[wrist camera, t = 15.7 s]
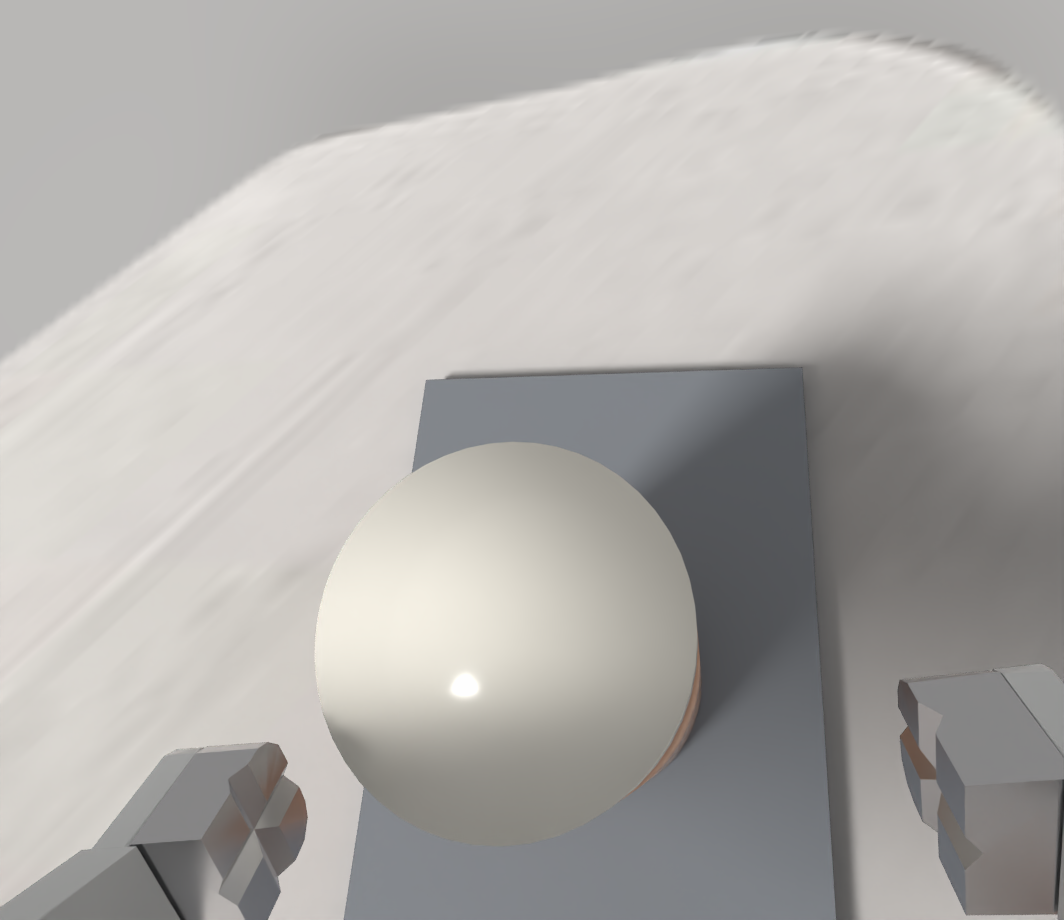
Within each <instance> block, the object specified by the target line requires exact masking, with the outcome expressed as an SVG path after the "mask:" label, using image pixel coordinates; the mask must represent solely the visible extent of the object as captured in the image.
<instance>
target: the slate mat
mask: <svg viewBox="0 0 1064 920" xmlns="http://www.w3.org/2000/svg"><path fill="white" fill-rule="evenodd" d="M502 442H529V443H539V444H544V445H550V446H556V447H560V448H563V449H566V450H569V451H572V452H575V453H579V454H581V455H583V456H585V457H587V458H590V459H592V460H594V461H596V462H598V463H600V464H602V465H603V466H605V467H606V468H608V469H610V470H611V471H613V472H614V473H616V474H617V475H619V476H620V477H622V478H623V479H624V480H625V481H626V482H628V483H629V484H630V485H631V486H632V487H633V488H635V489H636V490H637V491H638V492H639V493H640V494H641V495H642V496H643V497H644V498H645V500H646V501H647V502H648V503H649V504H650V505H651V506H652V507H653V508H654V509H655V511H656V512H657V514H658V515H659V517H660V518H661V520H662V521H663V522H664V524H665V525H666V527H667V528H668V530H669V531H670V533H671V535H672V537H673V539H674V541H675V543H676V545H677V547H678V549H679V551H680V553H681V556H682V558H683V561H684V564H685V567H686V570H687V573H688V576H689V579H690V583H691V588H692V593H693V598H694V603H695V610H696V621H697V632H698V643H699V654H700V665H701V678H702V686H701V699H700V704H699V710H698V714H697V717H696V720H695V723H694V726H693V729H692V731H691V733H690V735H689V737H688V739H687V741H686V743H685V744H684V746H683V747H682V749H681V750H680V752H679V753H678V755H677V756H676V757H675V758H674V759H673V760H672V761H671V762H670V764H669V765H668V766H667V767H666V768H665V769H663V770H662V771H661V772H660V773H659V774H657V775H656V776H655V777H654V778H652V779H651V780H649V781H648V782H647V783H645V784H644V785H642V786H641V787H639V788H638V789H637V790H635V791H634V792H632V793H631V794H630V795H628V796H627V797H625V798H624V799H622V800H621V801H620V802H618V803H617V804H615V805H614V806H613V807H611V808H610V809H608V810H607V811H605V812H604V813H602V814H600V815H599V816H597V817H595V818H594V819H592V820H591V821H589V822H587V823H586V824H584V825H582V826H580V827H577V828H575V829H573V830H570V831H568V832H566V833H563V834H561V835H559V836H556V837H552V838H549V839H545V840H541V841H537V842H533V843H529V844H520V845H510V846H483V845H471V844H466V843H462V842H457V841H452V840H447V839H444V838H442V837H439V836H436V835H434V834H431V833H428V832H426V831H423V830H421V829H419V828H417V827H416V826H414V825H412V824H410V823H408V822H407V821H405V820H403V819H401V818H399V817H398V816H397V815H395V814H394V813H393V812H392V811H390V810H389V809H388V808H386V807H385V806H384V805H382V804H381V803H380V802H379V801H377V799H376V798H375V797H374V796H373V795H372V794H371V793H370V792H369V791H368V790H367V789H366V788H365V787H364V790H363V797H362V803H361V810H360V816H359V823H358V829H357V836H356V843H355V849H354V856H353V862H352V869H351V875H350V882H349V888H348V895H347V902H346V908H345V915H344V920H836V911H835V894H834V878H833V862H832V845H831V829H830V813H829V797H828V780H827V764H826V748H825V731H824V715H823V699H822V682H821V666H820V650H819V633H818V617H817V601H816V584H815V568H814V552H813V536H812V519H811V503H810V487H809V470H808V454H807V438H806V421H805V405H804V389H803V372H802V367H800V368H769V369H739V370H709V371H679V372H649V373H619V374H588V375H558V376H528V377H498V378H468V379H438V380H426V384H425V390H424V397H423V403H422V410H421V416H420V423H419V430H418V436H417V443H416V449H415V456H414V462H413V469H412V473H413V472H414V471H416V470H418V469H419V468H421V467H423V466H424V465H426V464H428V463H430V462H432V461H435V460H437V459H439V458H441V457H443V456H445V455H448V454H451V453H454V452H457V451H460V450H463V449H466V448H470V447H475V446H480V445H485V444H490V443H502Z"/></svg>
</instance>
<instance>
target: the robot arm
mask: <svg viewBox="0 0 1064 920" xmlns="http://www.w3.org/2000/svg"><path fill="white" fill-rule="evenodd" d="M898 707H899V709H900V711H901V713H902V715H903V717H904V719H905V721H906V723H907V725H908V727H907V728H906V729H905V731H904V732H903V733H902V734H901V735H900V744H901V755H902V762H903V766H904V771H905V775H906V780H907V784H908V787H909V789H910V792H911V795H912V798H913V801H914V803H915V805H916V808H917V810H918V812H919V814H920V817H921V819H922V821H923V822H924V823H925V824H927V825H928V826H930V827H931V828H932V829H934V830H935V831H936V832H938V846H939V858H940V860H941V863H942V865H943V867H944V869H945V871H946V873H947V875H948V878H949V880H950V882H951V884H952V886H953V888H954V890H955V892H956V895H957V897H958V899H959V901H960V903H961V905H962V907H963V910H964V912H965V914H966V915H1044V914H1058V918H1057V919H1058V920H1064V683H1063V681H1062V680H1061V679H1060V678H1059V677H1058V676H1057V674H1056V673H1055V672H1054V671H1053V670H1052V669H1051V668H1049V667H1047V666H1045V665H1043V664H1033V665H1024V666H1016V667H1007V668H999V669H993V670H992V671H989V670H987V671H978V672H969V673H959V674H950V675H940V676H931V677H921V678H912V679H902V680H900V681H899V686H898ZM287 764H288V762H287V760H286V758H285V756H284V754H283V752H282V750H281V749H280V747H279V745H277V744H273V743H269V742H262V743H248V744H234V745H220V746H207V747H205V748H189V749H176V750H175V751H173V752H171V753H169V754H167V755H165V756H164V757H163V758H162V760H161V761H160V762H159V763H158V765H157V766H156V767H155V769H154V770H153V771H152V772H151V774H150V775H149V776H148V778H147V779H146V780H145V781H144V783H143V784H142V785H141V787H140V788H139V789H138V790H137V792H136V793H135V794H134V796H133V797H132V798H131V799H130V801H129V802H128V803H127V805H126V806H125V807H124V808H123V810H122V811H121V812H120V813H119V815H118V816H117V817H116V819H115V820H114V821H113V822H112V824H111V825H110V826H109V828H108V829H107V830H106V831H105V833H104V834H103V835H102V837H101V838H100V839H99V840H98V842H97V843H96V844H95V846H94V847H93V848H92V849H89V850H81V851H80V852H78V853H77V854H75V855H74V856H73V857H71V858H70V859H68V860H67V861H65V862H64V863H63V864H61V865H60V866H58V867H57V868H56V869H54V870H53V871H51V872H50V873H48V874H47V875H46V876H44V877H43V878H41V879H40V880H39V881H37V882H36V883H34V884H33V885H31V886H30V887H29V888H27V889H26V890H24V891H23V892H22V893H20V894H19V895H17V896H16V897H14V898H13V899H12V900H10V901H9V902H7V903H6V904H4V905H3V906H2V907H0V920H268V918H269V916H270V914H271V911H272V909H273V907H274V905H275V903H276V901H277V899H278V897H279V894H280V892H281V891H280V886H279V881H278V876H279V875H280V874H281V873H282V872H283V871H284V870H285V869H287V868H288V867H289V866H290V865H291V864H292V863H293V862H294V861H295V860H296V858H297V856H298V853H299V851H300V849H301V847H302V844H303V842H304V839H305V832H306V825H307V818H308V817H307V810H306V804H305V799H304V797H303V795H302V792H301V790H300V788H299V786H297V785H296V784H295V783H293V782H292V781H291V780H289V779H288V778H286V777H285V776H284V772H285V770H286V767H287Z"/></svg>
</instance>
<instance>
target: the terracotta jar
mask: <svg viewBox="0 0 1064 920" xmlns="http://www.w3.org/2000/svg"><path fill="white" fill-rule="evenodd" d="M315 671H316V680H317V689H318V694H319V698H320V702H321V706H322V710H323V715H324V717H325V720H326V723H327V725H328V728H329V730H330V733H331V736H332V738H333V740H334V742H335V744H336V746H337V748H338V750H339V752H340V753H341V755H342V757H343V759H344V761H345V762H346V764H347V765H348V767H349V768H350V769H351V771H352V772H353V773H354V775H355V776H356V778H357V779H358V780H359V782H360V783H361V784H362V785H363V786H364V787H365V788H366V789H367V790H368V791H369V792H370V793H371V794H372V795H373V796H374V797H375V798H376V799H377V801H379V802H380V803H381V804H382V805H384V806H385V807H386V808H388V809H389V810H390V811H392V812H393V813H394V814H395V815H397V816H398V817H399V818H401V819H403V820H405V821H407V822H408V823H410V824H412V825H414V826H416V827H417V828H419V829H421V830H423V831H426V832H428V833H431V834H434V835H436V836H439V837H442V838H444V839H447V840H452V841H457V842H462V843H466V844H471V845H483V846H510V845H520V844H529V843H533V842H537V841H541V840H545V839H549V838H552V837H556V836H559V835H561V834H563V833H566V832H568V831H570V830H573V829H575V828H577V827H580V826H582V825H584V824H586V823H587V822H589V821H591V820H592V819H594V818H595V817H597V816H599V815H600V814H602V813H604V812H605V811H607V810H608V809H610V808H611V807H613V806H614V805H615V804H617V803H618V802H620V801H621V800H622V799H624V798H625V797H627V796H628V795H630V794H631V793H632V792H634V791H635V790H637V789H638V788H639V787H641V786H642V785H644V784H645V783H647V782H648V781H649V780H651V779H652V778H654V777H655V776H656V775H657V774H659V773H660V772H661V771H662V770H663V769H665V768H666V767H667V766H668V765H669V764H670V762H671V761H672V760H673V759H674V758H675V757H676V756H677V755H678V753H679V752H680V750H681V749H682V747H683V746H684V744H685V743H686V741H687V739H688V737H689V735H690V733H691V731H692V729H693V726H694V723H695V720H696V717H697V714H698V710H699V704H700V699H701V686H702V678H701V665H700V654H699V643H698V632H697V621H696V610H695V603H694V598H693V593H692V588H691V583H690V579H689V576H688V573H687V570H686V567H685V564H684V561H683V558H682V556H681V553H680V551H679V549H678V547H677V545H676V543H675V541H674V539H673V537H672V535H671V533H670V531H669V530H668V528H667V527H666V525H665V524H664V522H663V521H662V520H661V518H660V517H659V515H658V514H657V512H656V511H655V509H654V508H653V507H652V506H651V505H650V504H649V503H648V502H647V501H646V500H645V498H644V497H643V496H642V495H641V494H640V493H639V492H638V491H637V490H636V489H635V488H633V487H632V486H631V485H630V484H629V483H628V482H626V481H625V480H624V479H623V478H622V477H620V476H619V475H617V474H616V473H614V472H613V471H611V470H610V469H608V468H606V467H605V466H603V465H602V464H600V463H598V462H596V461H594V460H592V459H590V458H587V457H585V456H583V455H581V454H579V453H575V452H572V451H569V450H566V449H563V448H560V447H556V446H550V445H544V444H539V443H529V442H502V443H490V444H485V445H480V446H475V447H470V448H466V449H463V450H460V451H457V452H454V453H451V454H448V455H445V456H443V457H441V458H439V459H437V460H435V461H432V462H430V463H428V464H426V465H424V466H423V467H421V468H419V469H418V470H416V471H414V472H413V473H411V474H410V475H408V476H406V477H405V478H404V479H402V480H401V481H400V482H399V483H397V484H396V485H395V486H394V487H392V488H391V489H390V490H388V491H387V492H386V493H385V494H384V495H383V496H382V497H381V498H380V499H379V500H378V501H377V502H376V503H375V504H374V505H373V506H372V507H371V508H370V509H369V511H368V512H367V513H366V514H365V516H364V517H363V518H362V519H361V521H360V522H359V523H358V524H357V525H356V527H355V528H354V530H353V531H352V533H351V535H350V536H349V538H348V539H347V541H346V542H345V544H344V546H343V547H342V549H341V551H340V553H339V555H338V557H337V559H336V561H335V563H334V565H333V567H332V570H331V573H330V576H329V578H328V581H327V584H326V587H325V589H324V593H323V597H322V601H321V605H320V609H319V613H318V620H317V628H316V636H315Z"/></svg>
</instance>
